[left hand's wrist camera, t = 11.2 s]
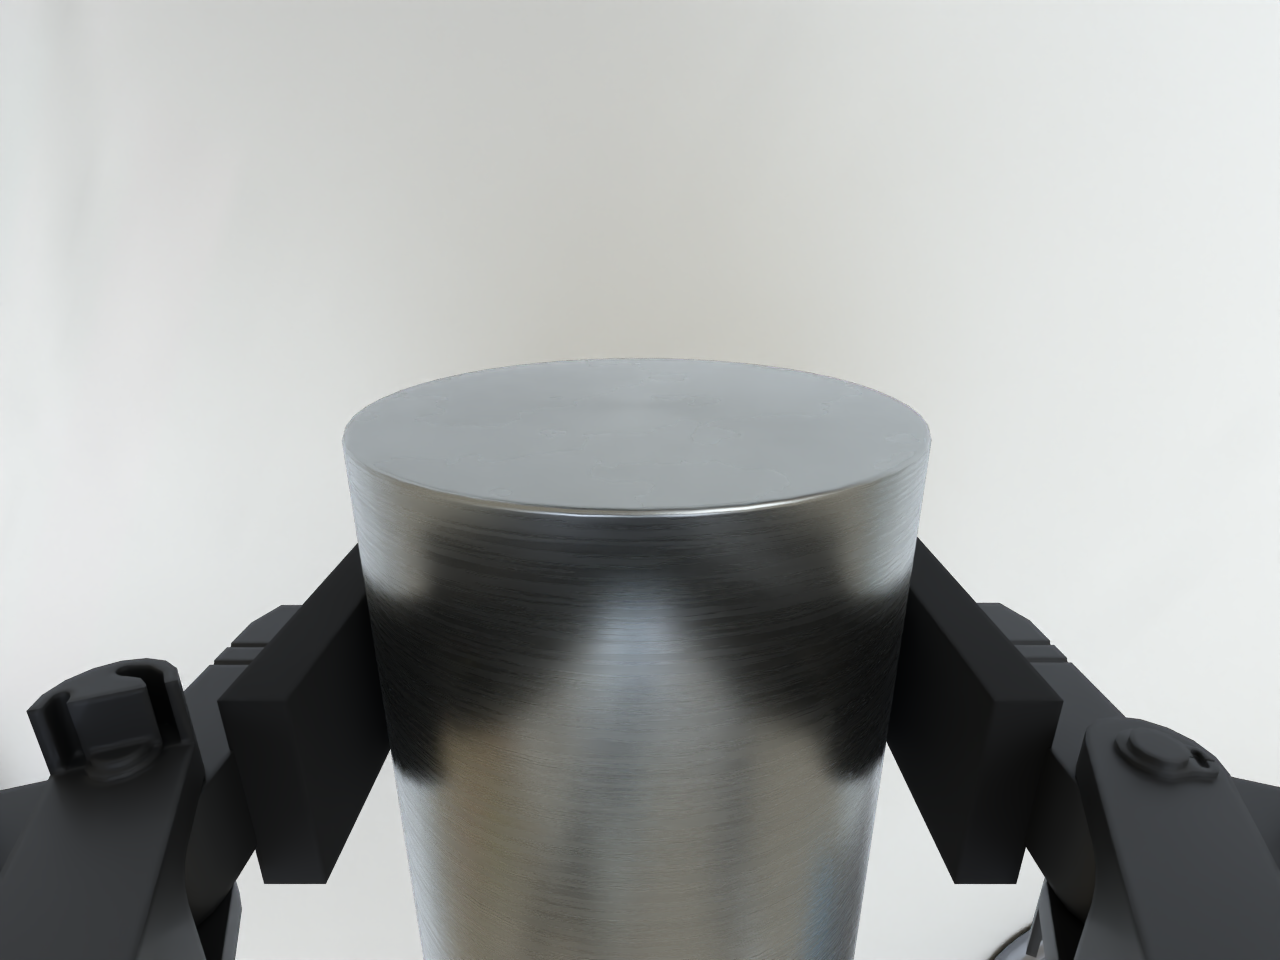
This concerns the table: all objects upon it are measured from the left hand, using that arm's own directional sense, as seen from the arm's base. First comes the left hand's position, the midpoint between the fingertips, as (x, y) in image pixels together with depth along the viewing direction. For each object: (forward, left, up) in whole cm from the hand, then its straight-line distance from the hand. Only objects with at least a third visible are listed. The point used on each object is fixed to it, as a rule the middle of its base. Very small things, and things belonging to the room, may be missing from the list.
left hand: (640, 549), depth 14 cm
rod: (+10, -2, -1) cm, 10 cm away
